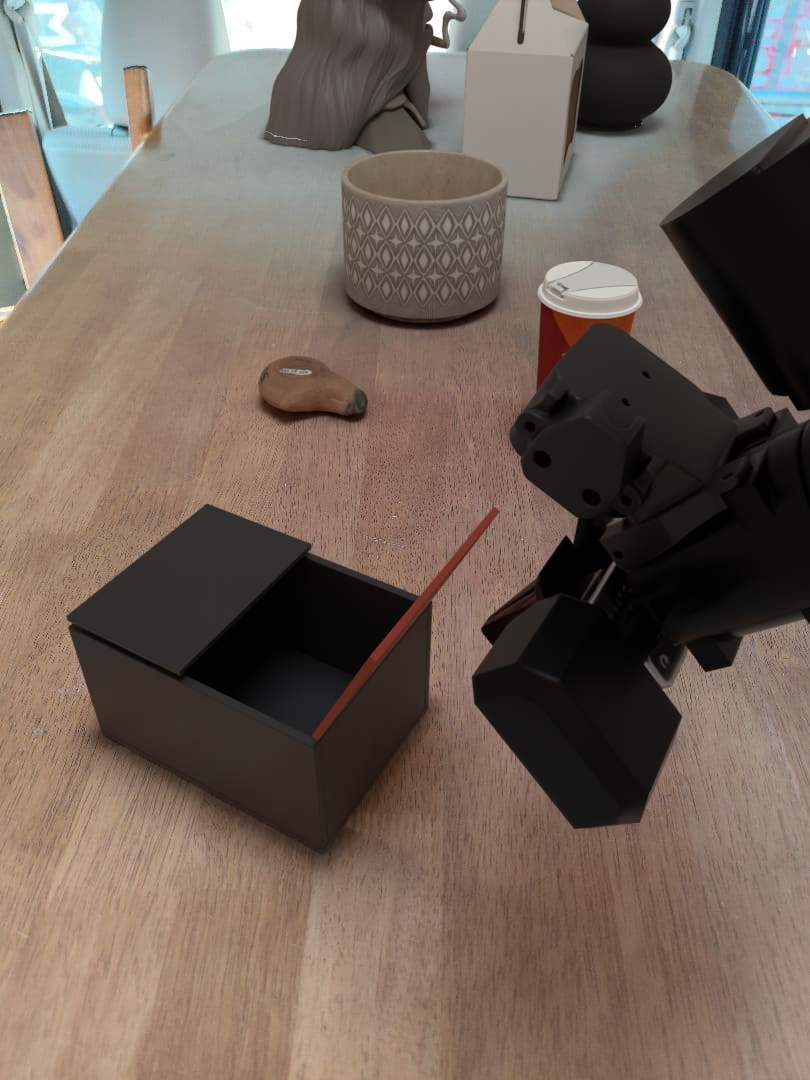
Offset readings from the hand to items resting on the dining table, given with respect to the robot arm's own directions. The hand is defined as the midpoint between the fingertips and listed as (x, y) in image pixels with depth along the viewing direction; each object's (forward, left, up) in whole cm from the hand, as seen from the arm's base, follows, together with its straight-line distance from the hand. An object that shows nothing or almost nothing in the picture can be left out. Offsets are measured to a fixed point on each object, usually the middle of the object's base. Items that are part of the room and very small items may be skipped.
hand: (490, 633), depth 38 cm
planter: (+42, -48, -14) cm, 66 cm away
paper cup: (+15, -34, -14) cm, 40 cm away
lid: (+4, +1, -1) cm, 4 cm away
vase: (+61, -120, -14) cm, 136 cm away
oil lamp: (+35, -24, -14) cm, 45 cm away
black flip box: (+13, +2, -14) cm, 19 cm away
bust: (+91, -93, -14) cm, 131 cm away
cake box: (+58, -90, -14) cm, 108 cm away
